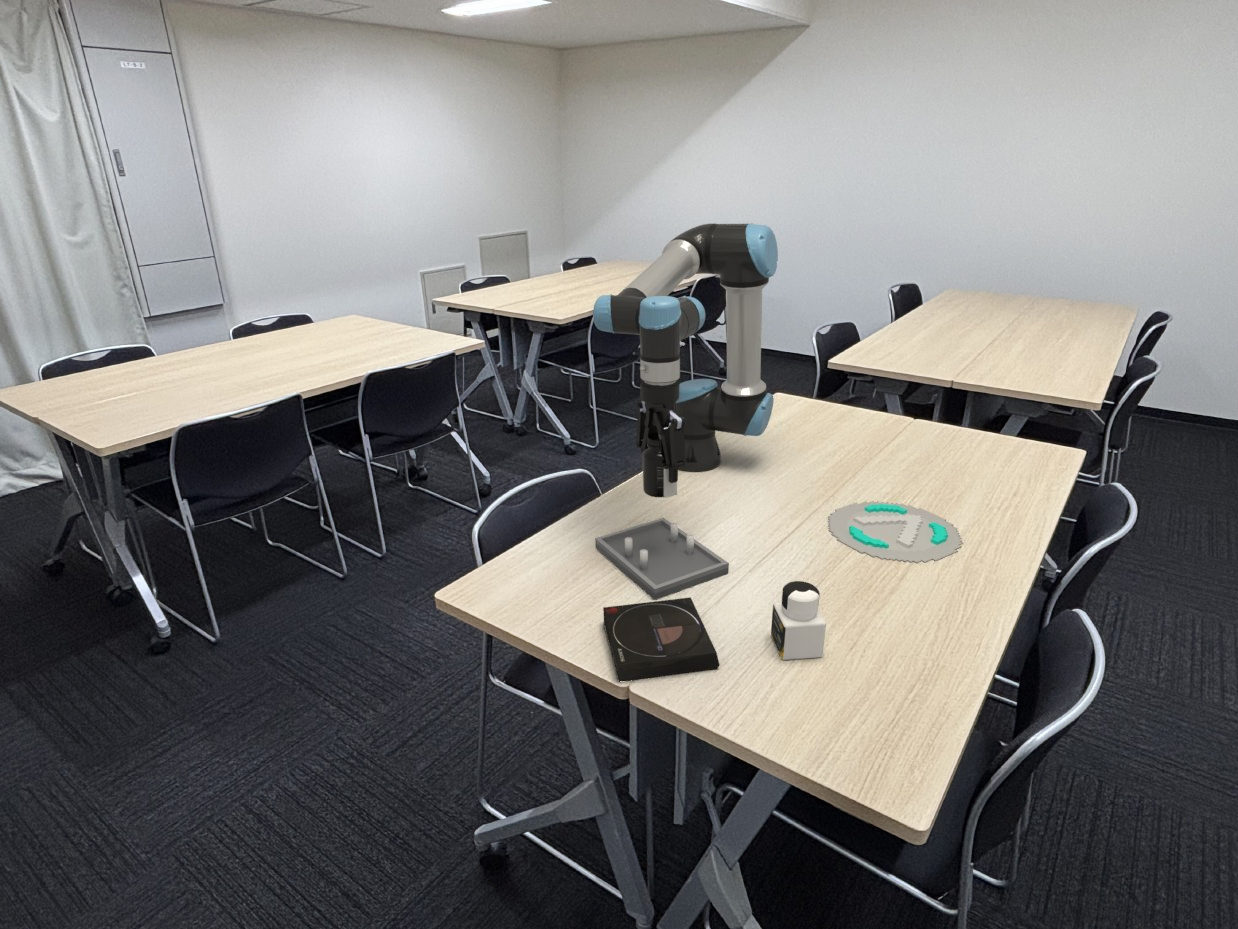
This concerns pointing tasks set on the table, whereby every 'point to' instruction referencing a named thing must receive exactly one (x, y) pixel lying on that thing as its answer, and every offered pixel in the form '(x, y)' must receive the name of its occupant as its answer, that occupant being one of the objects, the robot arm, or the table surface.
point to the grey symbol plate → (894, 532)
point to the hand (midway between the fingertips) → (659, 488)
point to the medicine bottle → (798, 622)
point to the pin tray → (661, 557)
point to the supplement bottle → (654, 466)
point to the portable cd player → (658, 639)
